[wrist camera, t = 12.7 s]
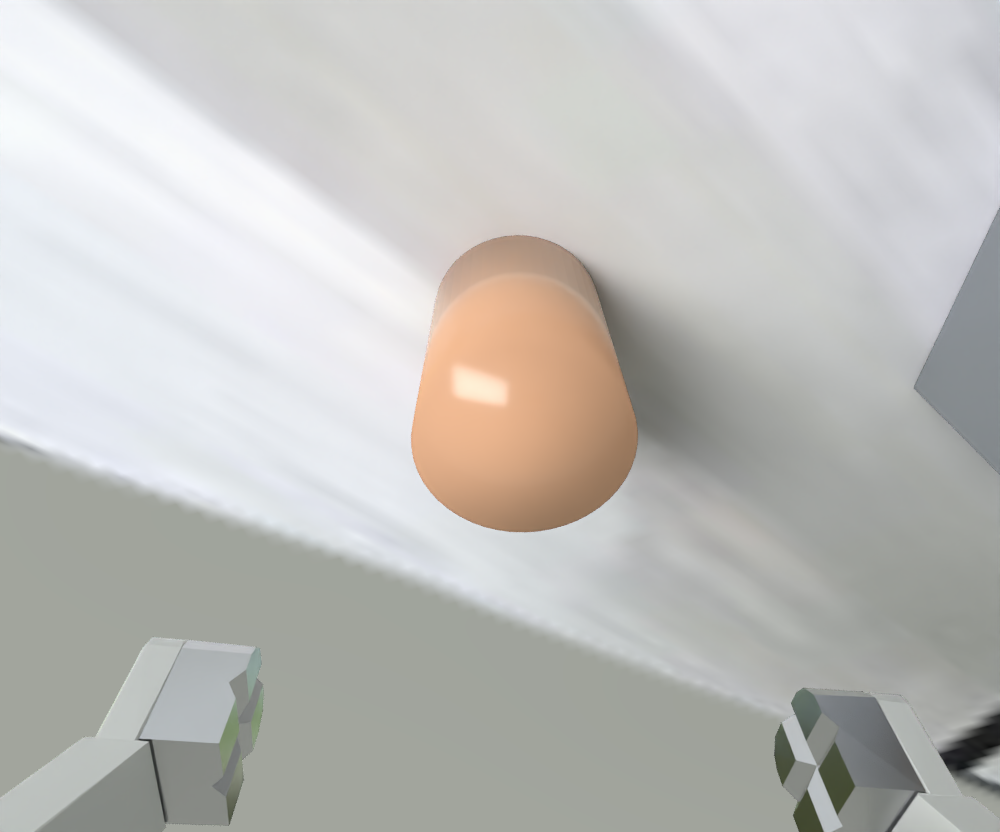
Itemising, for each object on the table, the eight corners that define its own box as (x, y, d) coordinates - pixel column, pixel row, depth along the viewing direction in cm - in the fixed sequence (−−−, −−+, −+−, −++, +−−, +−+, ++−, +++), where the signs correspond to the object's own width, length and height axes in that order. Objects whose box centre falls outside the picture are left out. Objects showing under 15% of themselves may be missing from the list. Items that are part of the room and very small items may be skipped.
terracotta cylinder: (440, 226, 21) (417, 331, 15) (614, 245, 21) (661, 356, 15) (429, 379, 23) (405, 522, 17) (583, 394, 24) (613, 540, 18)
